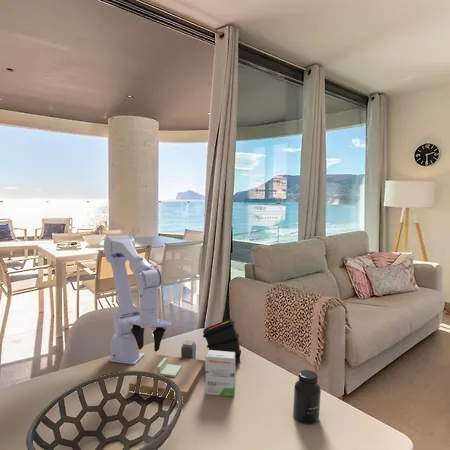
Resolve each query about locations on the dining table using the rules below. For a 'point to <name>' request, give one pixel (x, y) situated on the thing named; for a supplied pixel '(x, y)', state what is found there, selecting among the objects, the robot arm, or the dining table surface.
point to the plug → (188, 350)
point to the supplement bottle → (307, 397)
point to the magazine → (223, 338)
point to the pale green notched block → (168, 369)
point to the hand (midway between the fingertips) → (148, 349)
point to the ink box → (220, 373)
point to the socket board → (183, 379)
